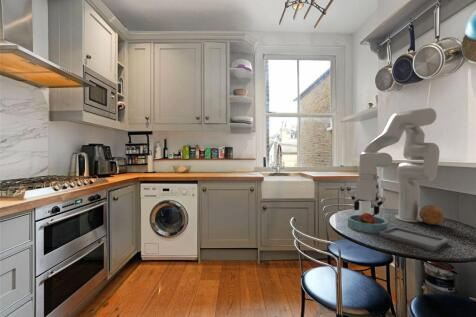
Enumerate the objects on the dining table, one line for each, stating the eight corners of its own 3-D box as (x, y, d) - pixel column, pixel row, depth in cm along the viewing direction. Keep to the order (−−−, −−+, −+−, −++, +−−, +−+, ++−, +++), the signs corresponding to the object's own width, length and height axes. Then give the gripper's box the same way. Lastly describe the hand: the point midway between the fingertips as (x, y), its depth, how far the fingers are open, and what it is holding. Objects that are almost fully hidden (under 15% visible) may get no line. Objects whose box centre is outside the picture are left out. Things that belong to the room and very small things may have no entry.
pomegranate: (366, 234, 118) (383, 222, 117) (356, 222, 119) (373, 209, 118) (360, 231, 125) (377, 219, 125) (351, 219, 126) (367, 207, 126)
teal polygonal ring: (360, 220, 134) (360, 213, 133) (393, 228, 119) (393, 220, 119) (341, 225, 124) (341, 217, 124) (375, 235, 110) (375, 226, 110)
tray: (394, 230, 117) (394, 226, 117) (447, 243, 100) (447, 239, 100) (379, 236, 109) (379, 231, 109) (434, 251, 92) (434, 246, 92)
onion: (448, 226, 123) (449, 206, 123) (434, 228, 120) (434, 208, 120) (428, 220, 132) (428, 202, 132) (414, 222, 129) (415, 203, 129)
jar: (374, 216, 141) (374, 196, 141) (365, 218, 137) (366, 197, 137) (360, 213, 149) (360, 193, 149) (351, 214, 145) (351, 194, 145)
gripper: (389, 179, 116) (388, 215, 116) (355, 175, 130) (353, 207, 130) (381, 179, 112) (380, 217, 112) (346, 176, 126) (345, 209, 126)
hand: (366, 212), depth 121 cm, fingers open, 9 cm apart
